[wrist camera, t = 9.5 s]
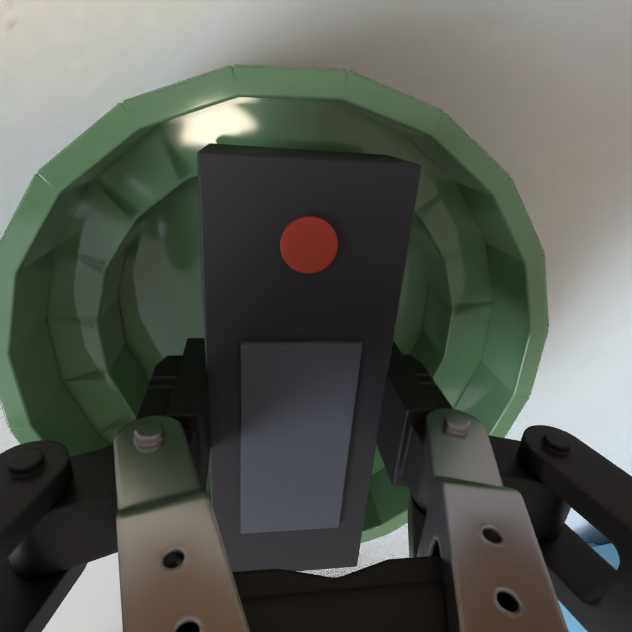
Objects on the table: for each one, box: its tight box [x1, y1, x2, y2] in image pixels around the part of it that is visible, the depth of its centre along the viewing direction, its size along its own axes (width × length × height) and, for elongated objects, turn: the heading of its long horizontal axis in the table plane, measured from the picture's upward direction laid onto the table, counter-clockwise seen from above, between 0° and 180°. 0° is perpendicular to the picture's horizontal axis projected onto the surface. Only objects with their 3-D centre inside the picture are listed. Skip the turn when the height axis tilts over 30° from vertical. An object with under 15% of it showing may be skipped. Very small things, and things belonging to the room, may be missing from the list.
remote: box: [197, 143, 421, 572], centre depth 12 cm, size 12×4×2 cm, turn 176°
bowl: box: [0, 65, 549, 543], centre depth 14 cm, size 15×15×5 cm
